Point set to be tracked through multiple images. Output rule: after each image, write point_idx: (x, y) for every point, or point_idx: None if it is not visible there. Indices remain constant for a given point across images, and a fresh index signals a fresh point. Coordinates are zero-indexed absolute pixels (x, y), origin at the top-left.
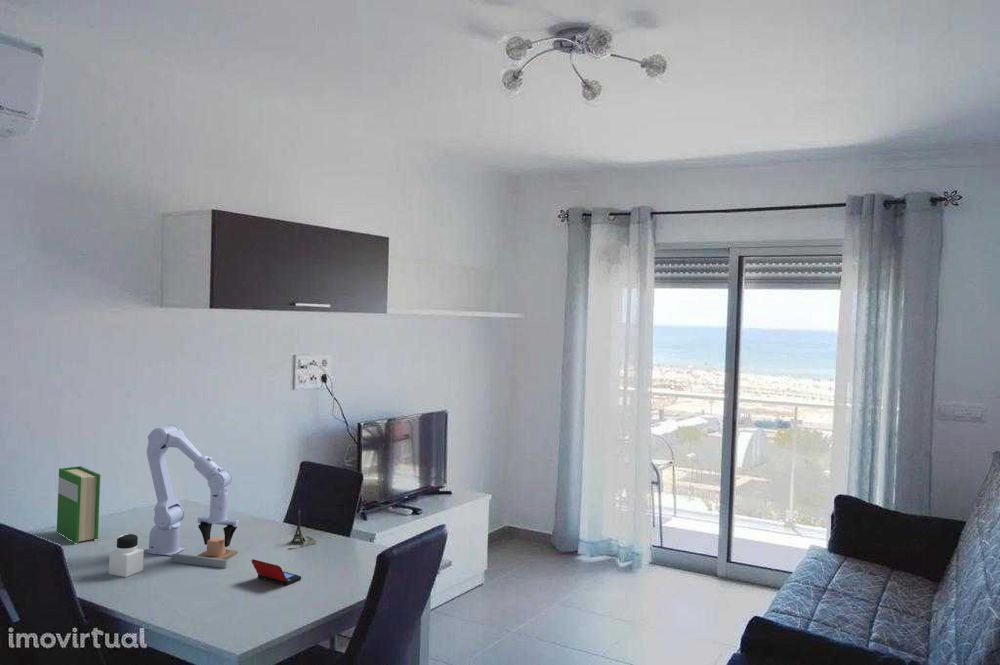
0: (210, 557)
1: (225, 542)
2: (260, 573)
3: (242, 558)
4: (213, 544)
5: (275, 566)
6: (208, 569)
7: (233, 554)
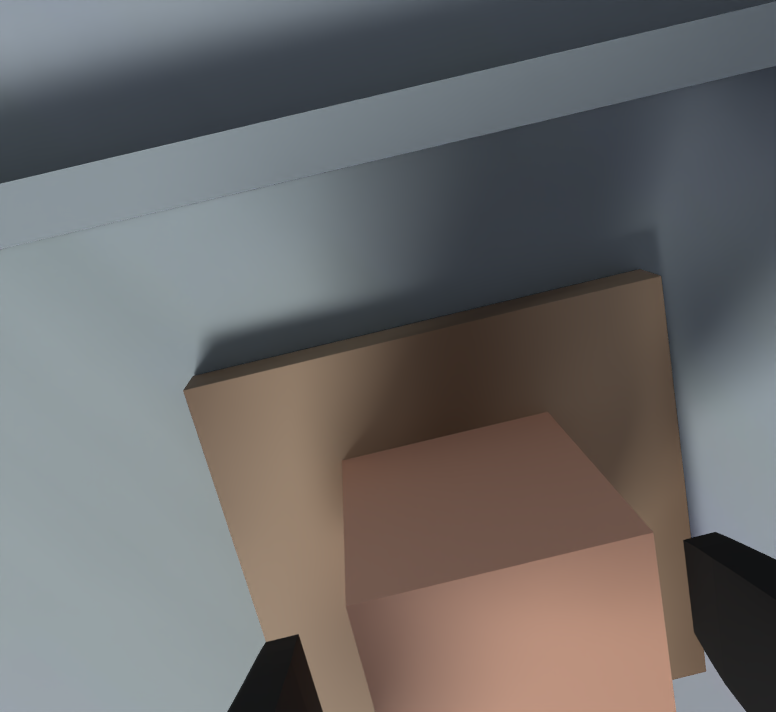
0: (419, 368)
1: (261, 692)
2: None
3: (100, 648)
4: (474, 536)
5: None
6: (107, 11)
7: None
